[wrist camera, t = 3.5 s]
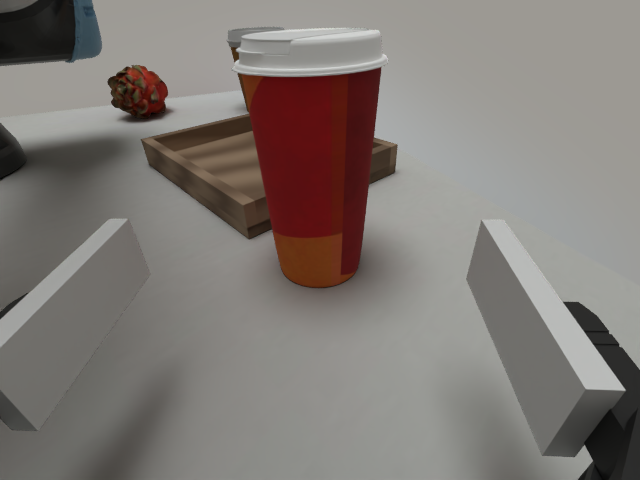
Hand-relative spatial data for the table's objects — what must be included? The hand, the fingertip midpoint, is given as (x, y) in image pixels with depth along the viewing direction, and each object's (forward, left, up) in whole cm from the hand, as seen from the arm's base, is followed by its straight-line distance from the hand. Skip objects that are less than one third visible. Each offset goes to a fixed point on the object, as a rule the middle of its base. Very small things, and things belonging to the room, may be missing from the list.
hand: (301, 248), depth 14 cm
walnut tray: (-23, +13, -7) cm, 28 cm away
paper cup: (-6, +6, -8) cm, 12 cm away
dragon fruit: (-58, +12, -8) cm, 60 cm away
